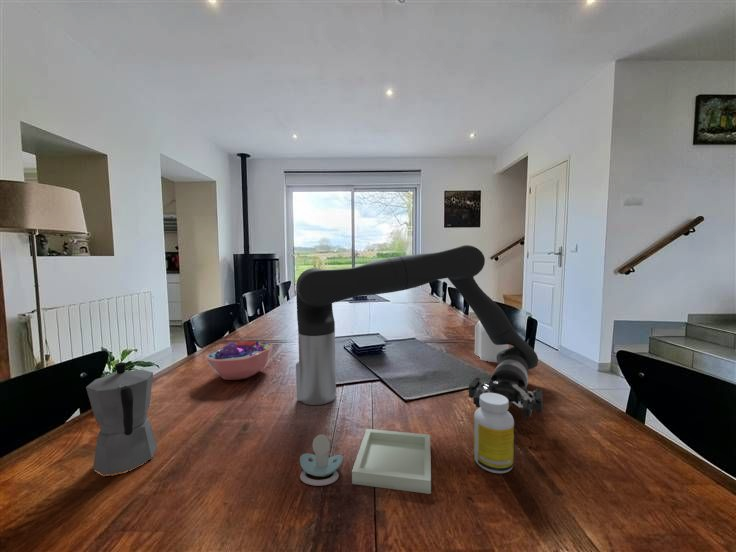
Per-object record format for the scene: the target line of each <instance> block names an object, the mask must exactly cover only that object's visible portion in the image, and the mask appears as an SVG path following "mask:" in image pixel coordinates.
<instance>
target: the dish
mask: <svg viewBox="0 0 736 552" xmlns="http://www.w3.org/2000/svg"><path fill="white" fill-rule="evenodd" d="M431 465H432V463H431V434H428V433H427V434H426V433H425V434H424V433H413V432H406V431H394V430H393V431H392V430H384V429H383V430H382V429H374V428H373V429H372V428H366V429H365V433H364V436H363V438H362V441H361V443H360V447H359V450H358V453H357V455H356V458H355V461H354V464H353V467H352V470H351V484H352V485H358V486H365V487H366V486H367V487H373V488H382V489H390V490H396V491H397V490H398V491H406V492H413V493H418V494H419V493H420V494H421V493H422V494H428V495H429V494H430V495H431V494H432V469H431V468H432V466H431Z"/></svg>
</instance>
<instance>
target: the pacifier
mask: <svg viewBox="0 0 736 552" xmlns="http://www.w3.org/2000/svg"><path fill="white" fill-rule="evenodd" d="M330 448H331V440H330V438H329V437H328V436H327V435H326V434H323V433H322V434H318V435H316V436H315V437H314V439H313V441H312V450H313V453H314V454H313V453H307V452H306V453H303V454H302V455H300V457H299V464H300V466H301V469H302V471H301V472H300V475H299V478H300V480H301V481H302V482H303V483H304V484H305V485H311V486H316V487H318V486H319V487H320V486H328V485H331V484H333V483H335V482H336V481H338V479H339V476H340V474H339V472H338V471H337V470H338V469H339V467H340V466H341V465H342V463H343V460H344V456H343V455H342V454H336V455H333V456H332V455H331V456H329V451H330ZM309 460H311V461H309ZM308 474H309V475H311V476H314V477H317V478H318V477H319V478H321V477H322V478H323V477H328V476H330V475H331V476H330V477H328V478H324V479H313V478H310V477H308V476H307V475H308Z"/></svg>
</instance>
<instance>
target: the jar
mask: <svg viewBox="0 0 736 552" xmlns="http://www.w3.org/2000/svg"><path fill="white" fill-rule="evenodd" d="M508 348H510V345H509V344H505V345H495V344H494V343H493V342H492V341H491V339H490V338H489V336H488V334H487V333H486V331H485V329H484V327H483V326H482V324H481V322H480V320H479V319H478V322H477V323H476V324H475V326H474V355H475V356H477V357H478V356H479V357H480V358H479V357H478V358H479V359H480V360H481V361H483V362H487V361H488V362H487V363H497V358H496V357H497V354H498V353H499V352H501V351H503V350H505V349H508Z"/></svg>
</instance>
